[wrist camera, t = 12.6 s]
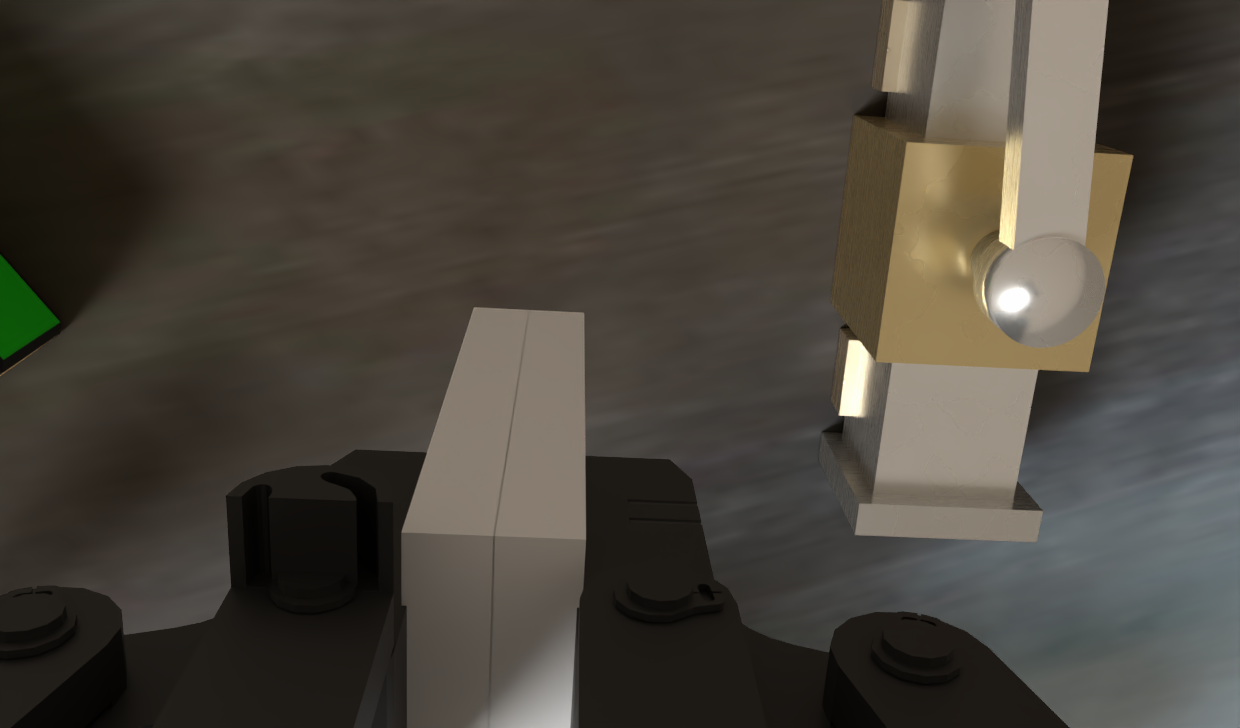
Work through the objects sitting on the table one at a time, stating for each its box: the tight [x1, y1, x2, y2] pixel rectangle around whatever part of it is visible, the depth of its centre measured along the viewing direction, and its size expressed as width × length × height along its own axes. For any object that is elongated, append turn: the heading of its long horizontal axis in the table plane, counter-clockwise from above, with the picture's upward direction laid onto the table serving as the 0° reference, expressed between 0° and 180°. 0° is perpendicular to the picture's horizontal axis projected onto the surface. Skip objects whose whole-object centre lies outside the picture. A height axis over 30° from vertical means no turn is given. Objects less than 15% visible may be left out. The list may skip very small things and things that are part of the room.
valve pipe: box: [818, 0, 1133, 542], centre depth 38 cm, size 20×7×9 cm, turn 177°
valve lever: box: [973, 0, 1109, 348], centre depth 31 cm, size 15×3×2 cm, turn 2°
